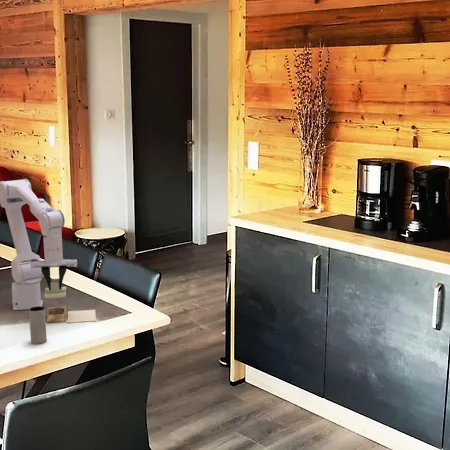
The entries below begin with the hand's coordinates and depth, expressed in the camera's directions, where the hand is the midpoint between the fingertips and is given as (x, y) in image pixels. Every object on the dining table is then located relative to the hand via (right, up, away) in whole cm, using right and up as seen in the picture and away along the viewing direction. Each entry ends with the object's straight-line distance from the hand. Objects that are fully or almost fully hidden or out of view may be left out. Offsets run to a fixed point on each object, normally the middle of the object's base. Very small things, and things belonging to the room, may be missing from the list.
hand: (55, 288), depth 219 cm
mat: (+8, -10, +4) cm, 13 cm away
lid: (0, -2, 0) cm, 2 cm away
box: (0, -10, +2) cm, 10 cm away
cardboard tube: (0, -14, -18) cm, 23 cm away
